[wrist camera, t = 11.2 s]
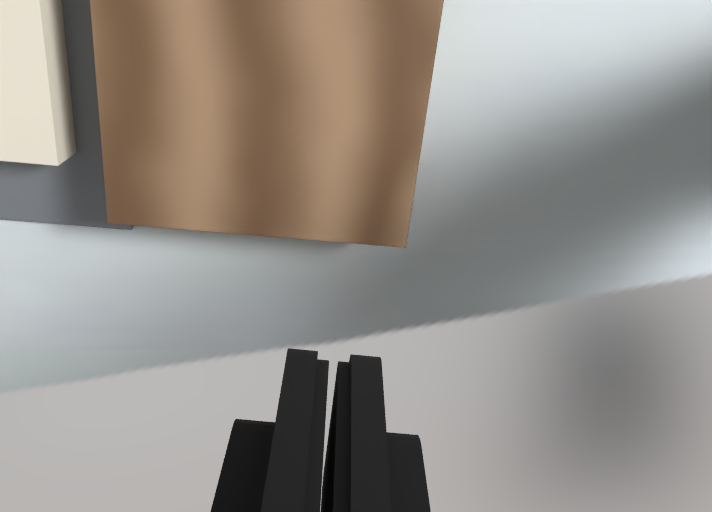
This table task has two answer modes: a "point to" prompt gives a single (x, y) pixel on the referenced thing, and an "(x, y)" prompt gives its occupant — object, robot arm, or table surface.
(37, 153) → the cream rectangular block
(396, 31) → the brown flat block
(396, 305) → the table surface
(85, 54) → the mat
